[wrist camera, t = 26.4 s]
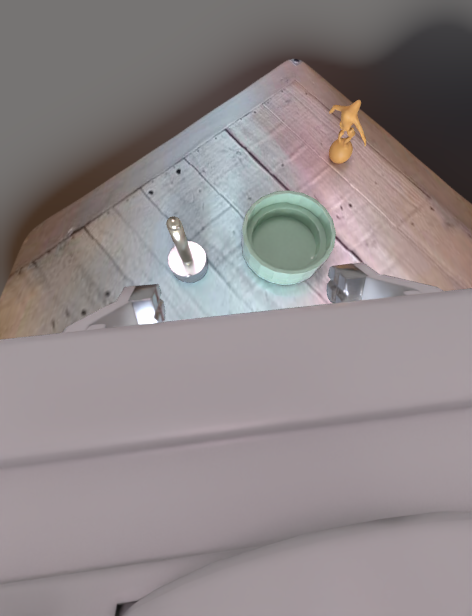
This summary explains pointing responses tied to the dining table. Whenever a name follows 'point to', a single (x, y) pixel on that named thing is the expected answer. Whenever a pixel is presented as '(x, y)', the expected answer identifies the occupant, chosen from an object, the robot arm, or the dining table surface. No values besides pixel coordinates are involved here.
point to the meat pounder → (185, 254)
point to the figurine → (343, 146)
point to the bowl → (287, 237)
